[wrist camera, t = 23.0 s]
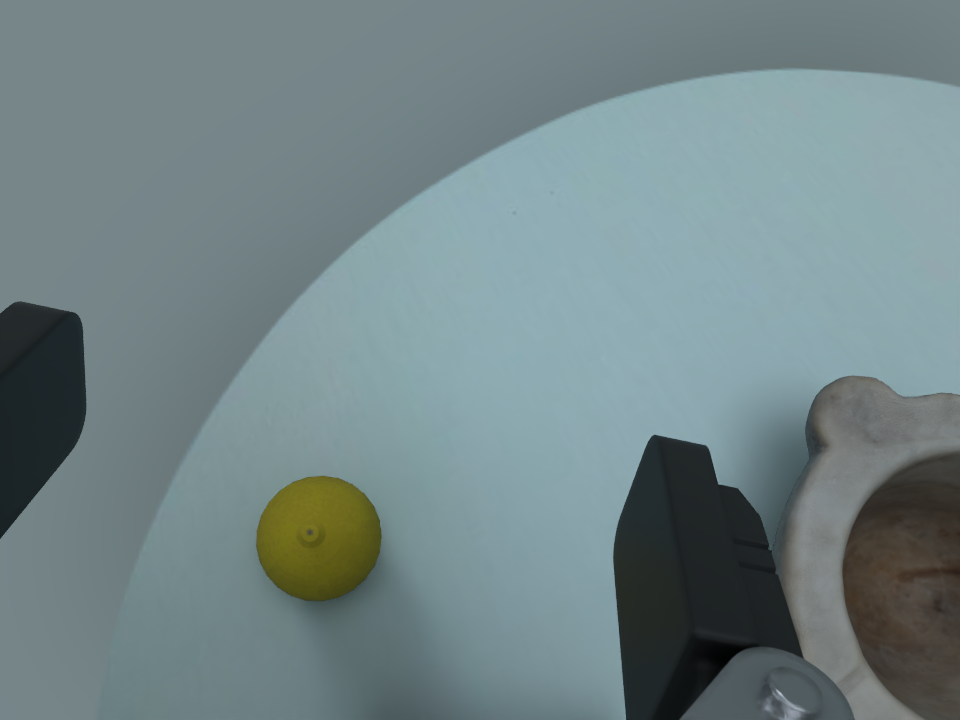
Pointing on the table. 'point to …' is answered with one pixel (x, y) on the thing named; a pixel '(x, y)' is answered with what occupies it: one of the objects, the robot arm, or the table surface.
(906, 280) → the table surface
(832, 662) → the mortar
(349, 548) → the lemon
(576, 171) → the table surface
